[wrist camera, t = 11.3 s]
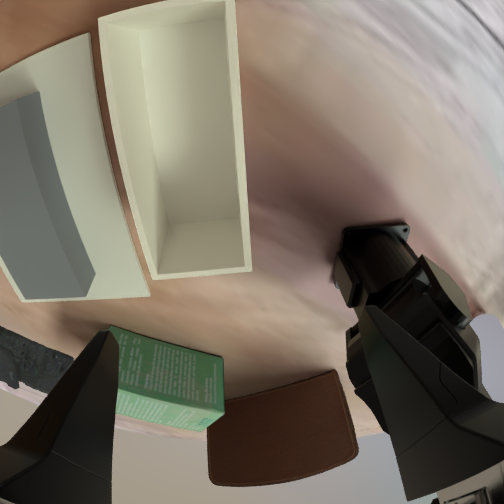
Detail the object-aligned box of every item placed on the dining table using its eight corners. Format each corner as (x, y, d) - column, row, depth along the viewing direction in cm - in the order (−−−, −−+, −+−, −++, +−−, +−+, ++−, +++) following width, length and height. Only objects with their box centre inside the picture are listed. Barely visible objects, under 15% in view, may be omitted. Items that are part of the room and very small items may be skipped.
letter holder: (204, 403, 40) (207, 490, 29) (336, 367, 37) (362, 461, 26) (232, 422, 46) (238, 496, 35) (344, 393, 43) (365, 469, 32)
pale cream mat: (90, 32, 13) (87, 32, 13) (150, 293, 26) (149, 296, 26) (-52, 108, 12) (-55, 109, 12) (23, 299, 25) (21, 302, 25)
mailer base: (230, 13, 14) (234, -8, 9) (244, 219, 22) (252, 271, 18) (133, 28, 13) (97, 18, 9) (166, 227, 22) (152, 280, 17)
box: (107, 321, 28) (91, 383, 22) (224, 354, 33) (227, 413, 27) (100, 355, 32) (89, 408, 26) (202, 382, 36) (202, 433, 30)
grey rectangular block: (39, 91, 14) (16, 98, 12) (96, 273, 24) (86, 296, 21) (-23, 122, 14) (-45, 133, 11) (37, 278, 23) (25, 299, 21)
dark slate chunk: (84, 398, 40) (79, 422, 36) (-21, 354, 33) (-29, 375, 29) (81, 354, 32) (73, 385, 28) (-44, 299, 25) (-58, 322, 21)
